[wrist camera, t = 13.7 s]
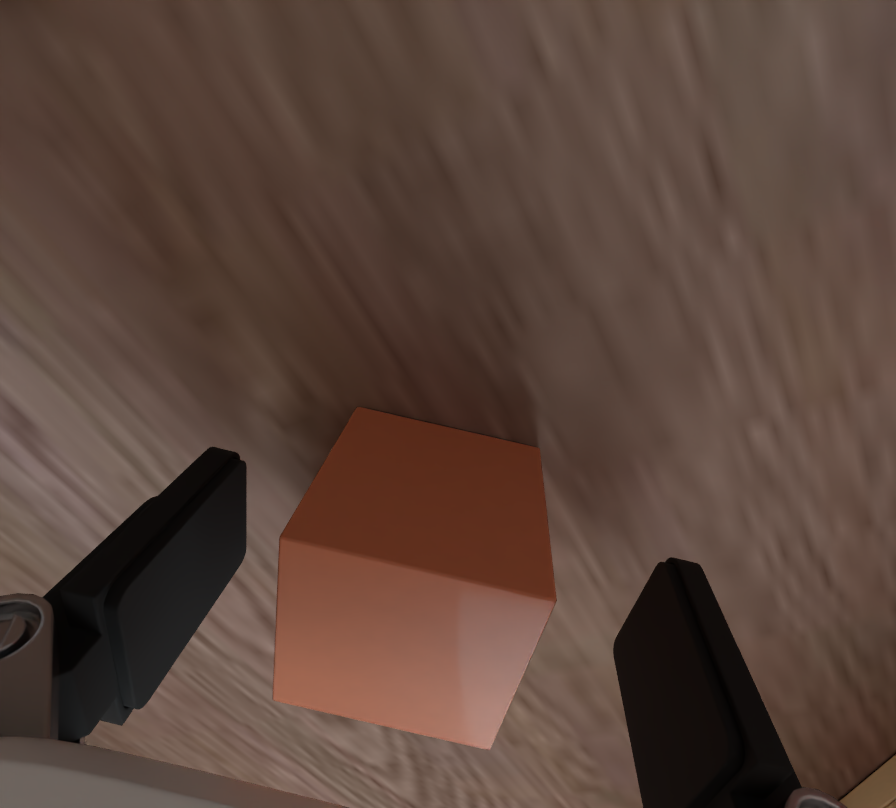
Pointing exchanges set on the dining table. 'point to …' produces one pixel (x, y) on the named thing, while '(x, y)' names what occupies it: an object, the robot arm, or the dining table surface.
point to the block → (414, 579)
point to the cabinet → (875, 789)
